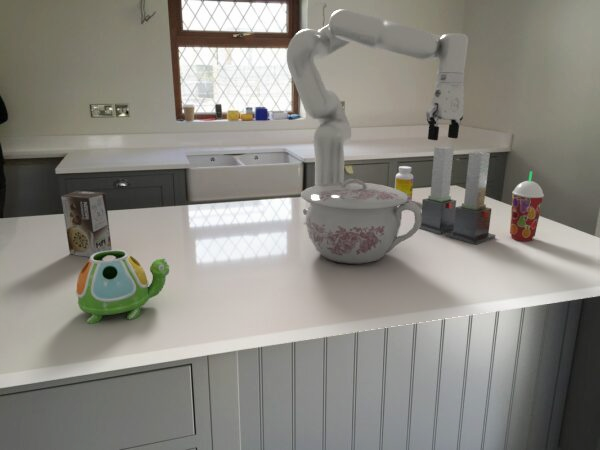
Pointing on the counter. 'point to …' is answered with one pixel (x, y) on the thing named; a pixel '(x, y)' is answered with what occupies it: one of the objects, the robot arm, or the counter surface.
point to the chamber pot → (356, 220)
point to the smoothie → (525, 210)
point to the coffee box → (86, 222)
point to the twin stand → (474, 204)
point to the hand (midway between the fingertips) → (442, 138)
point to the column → (441, 174)
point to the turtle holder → (117, 284)
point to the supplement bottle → (405, 181)
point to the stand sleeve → (438, 216)
